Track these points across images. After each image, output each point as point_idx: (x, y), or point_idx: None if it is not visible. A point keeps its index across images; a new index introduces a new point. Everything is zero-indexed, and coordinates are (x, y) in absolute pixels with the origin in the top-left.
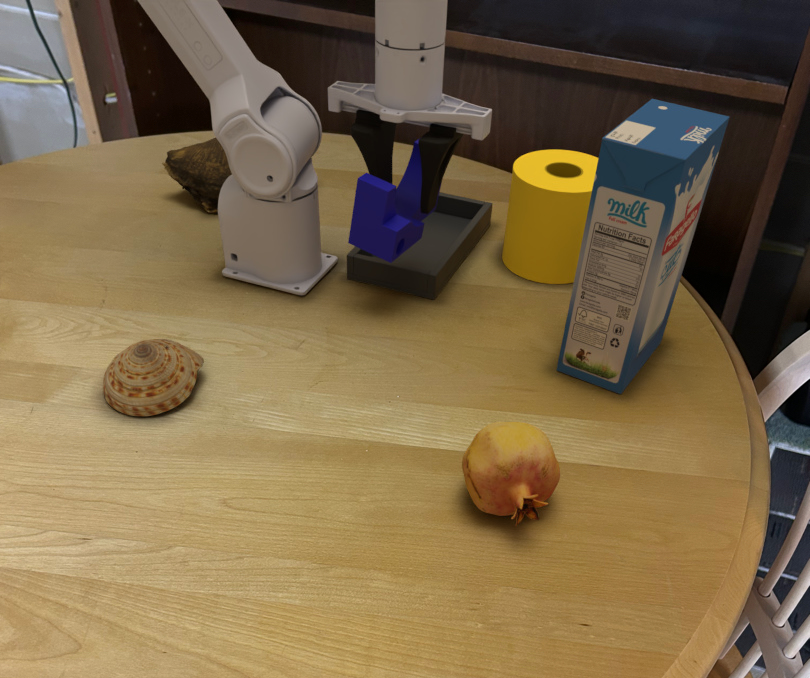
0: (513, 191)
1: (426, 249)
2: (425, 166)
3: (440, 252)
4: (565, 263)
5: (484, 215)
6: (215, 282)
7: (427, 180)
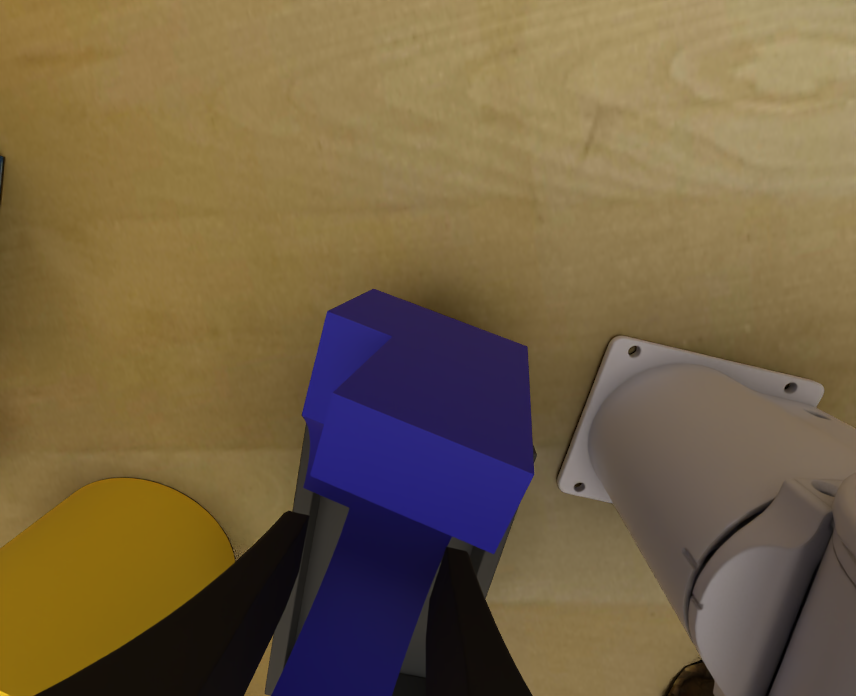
0: None
1: None
2: (193, 654)
3: None
4: (60, 510)
5: (271, 653)
6: (828, 358)
7: (223, 597)
